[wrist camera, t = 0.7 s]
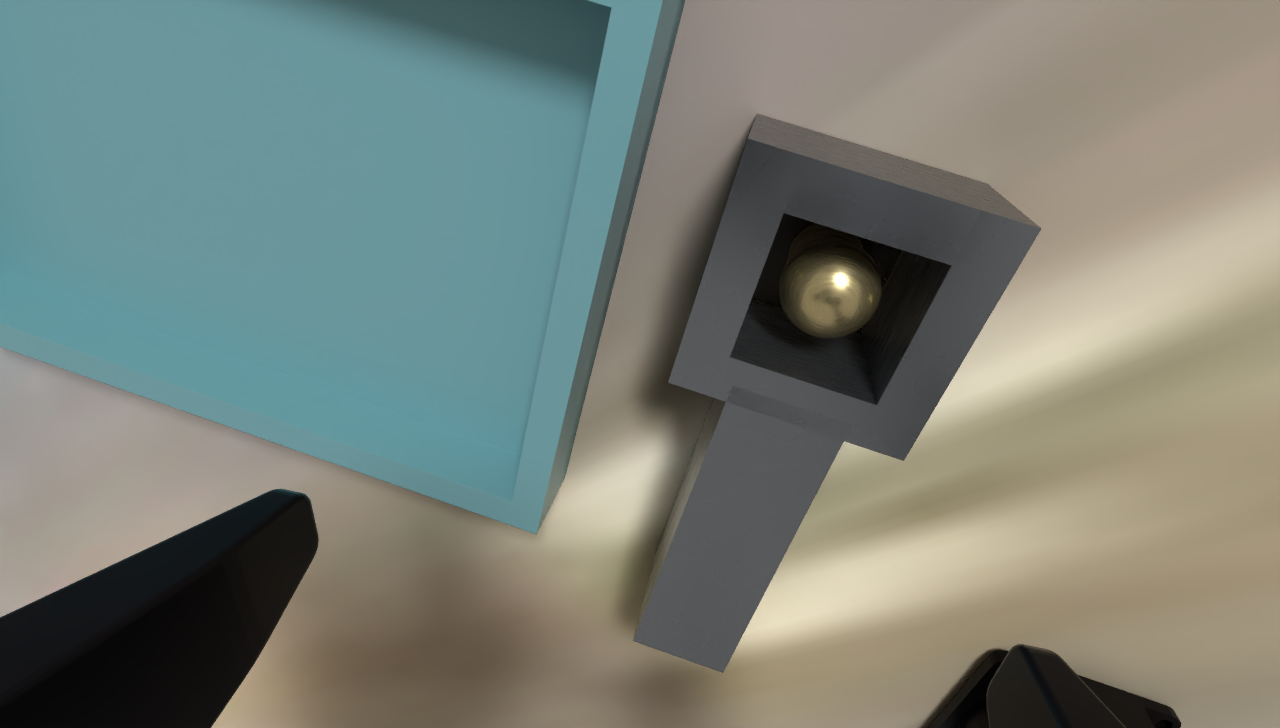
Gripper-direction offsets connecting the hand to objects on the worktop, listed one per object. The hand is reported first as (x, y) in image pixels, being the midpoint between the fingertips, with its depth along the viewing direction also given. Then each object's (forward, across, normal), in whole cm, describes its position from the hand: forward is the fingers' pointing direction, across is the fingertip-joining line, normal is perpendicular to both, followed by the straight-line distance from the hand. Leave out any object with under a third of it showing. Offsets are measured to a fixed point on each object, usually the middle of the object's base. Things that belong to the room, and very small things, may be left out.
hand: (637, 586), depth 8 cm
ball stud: (+12, -3, 0) cm, 12 cm away
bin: (+12, +14, -1) cm, 19 cm away
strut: (+12, -2, +4) cm, 13 cm away
